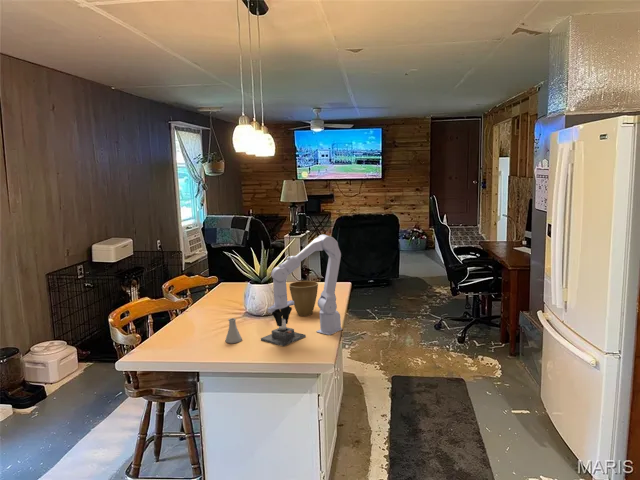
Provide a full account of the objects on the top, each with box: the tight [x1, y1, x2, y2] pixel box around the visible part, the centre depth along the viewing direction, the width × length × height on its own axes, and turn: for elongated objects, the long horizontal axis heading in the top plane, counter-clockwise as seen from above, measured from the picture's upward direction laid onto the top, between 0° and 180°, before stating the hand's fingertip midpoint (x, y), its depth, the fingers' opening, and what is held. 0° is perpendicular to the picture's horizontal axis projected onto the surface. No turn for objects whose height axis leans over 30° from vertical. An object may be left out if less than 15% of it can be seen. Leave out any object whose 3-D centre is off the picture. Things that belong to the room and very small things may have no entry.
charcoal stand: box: [260, 326, 307, 347], centre depth 213 cm, size 14×14×4 cm
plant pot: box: [288, 280, 319, 317], centre depth 248 cm, size 15×15×16 cm
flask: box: [225, 317, 243, 344], centre depth 214 cm, size 7×7×10 cm
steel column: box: [278, 318, 287, 332], centre depth 213 cm, size 3×3×8 cm
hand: (282, 324), depth 213 cm, fingers closed on steel column, 3 cm apart
